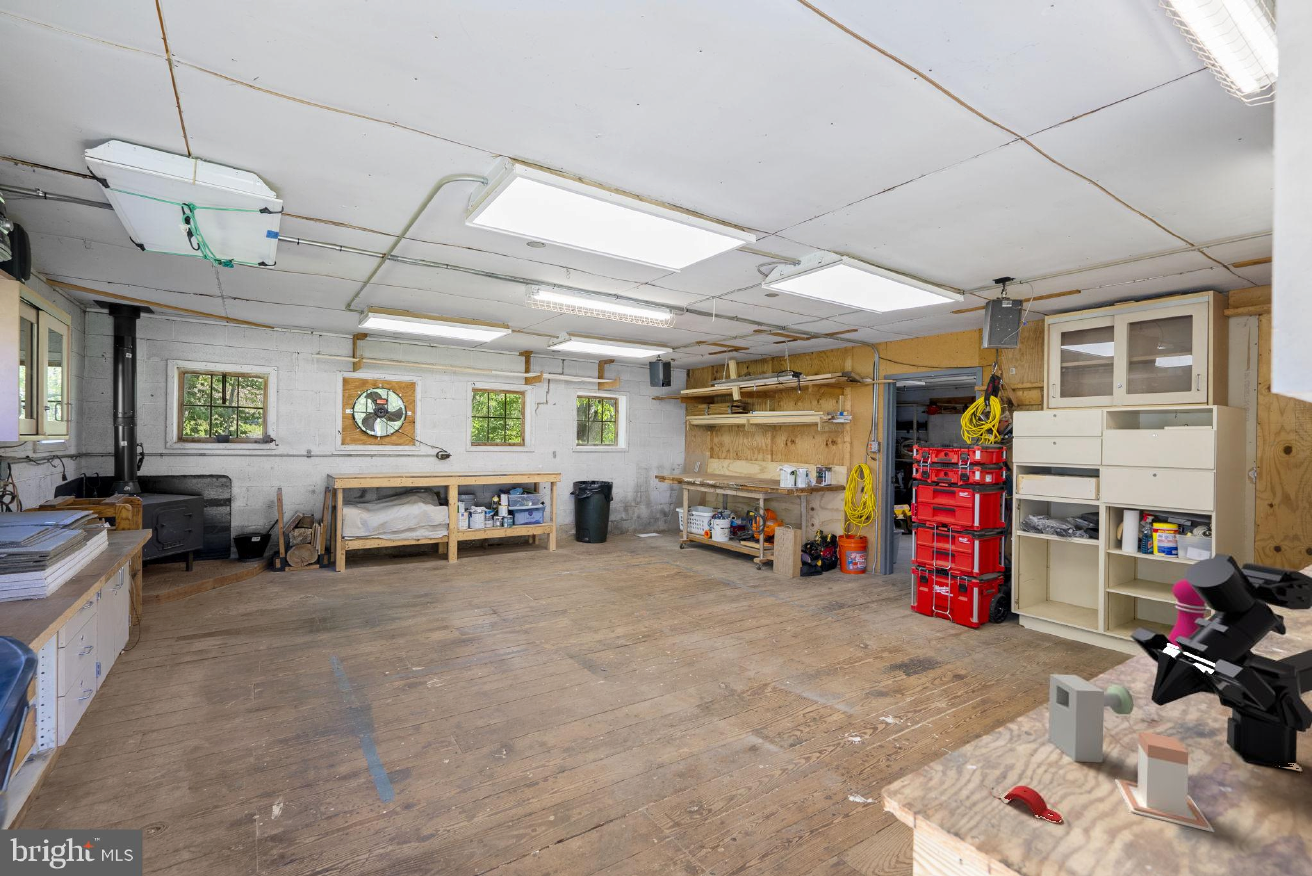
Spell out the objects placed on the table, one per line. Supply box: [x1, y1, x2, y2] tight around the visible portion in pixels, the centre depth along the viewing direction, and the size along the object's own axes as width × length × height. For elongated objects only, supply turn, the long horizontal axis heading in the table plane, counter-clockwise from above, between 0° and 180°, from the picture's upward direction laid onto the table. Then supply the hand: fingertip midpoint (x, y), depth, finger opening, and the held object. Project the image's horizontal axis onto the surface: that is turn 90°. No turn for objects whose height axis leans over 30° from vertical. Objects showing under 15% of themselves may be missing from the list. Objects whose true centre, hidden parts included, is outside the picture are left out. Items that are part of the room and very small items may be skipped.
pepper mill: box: [1167, 579, 1208, 648], centre depth 127 cm, size 7×7×20 cm
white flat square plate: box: [1114, 778, 1215, 833], centre depth 77 cm, size 8×8×1 cm
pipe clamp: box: [1004, 785, 1063, 822], centre depth 76 cm, size 8×3×2 cm, turn 40°
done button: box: [1104, 684, 1134, 715], centre depth 90 cm, size 7×4×4 cm, turn 89°
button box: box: [1048, 673, 1105, 763], centre depth 90 cm, size 4×6×10 cm, turn 179°
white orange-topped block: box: [1137, 731, 1189, 816], centre depth 77 cm, size 4×4×8 cm
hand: (1155, 702), depth 89 cm, fingers closed
